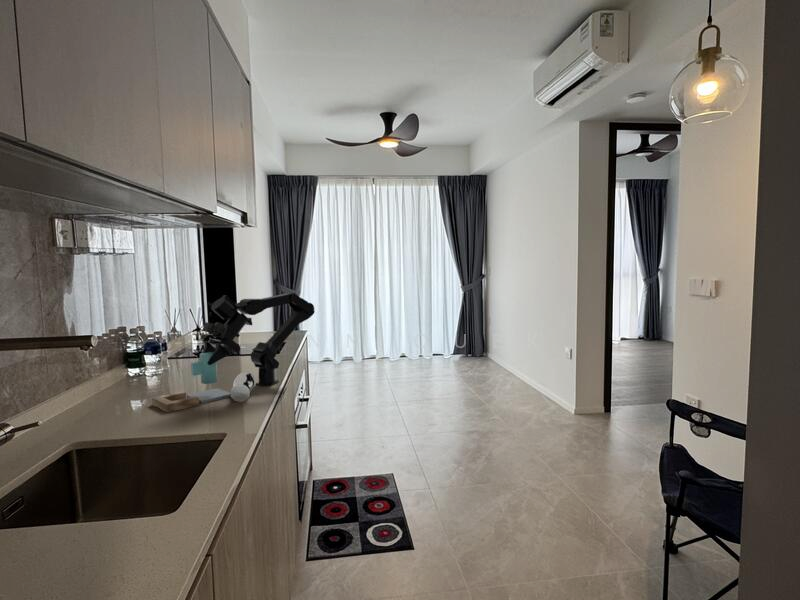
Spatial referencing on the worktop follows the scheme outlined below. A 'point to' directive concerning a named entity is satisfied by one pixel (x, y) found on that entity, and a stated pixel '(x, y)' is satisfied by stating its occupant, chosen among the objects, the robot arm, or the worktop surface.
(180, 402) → the bracket
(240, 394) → the beer glass
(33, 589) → the worktop surface
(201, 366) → the teal gourd with tab
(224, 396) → the coaster
